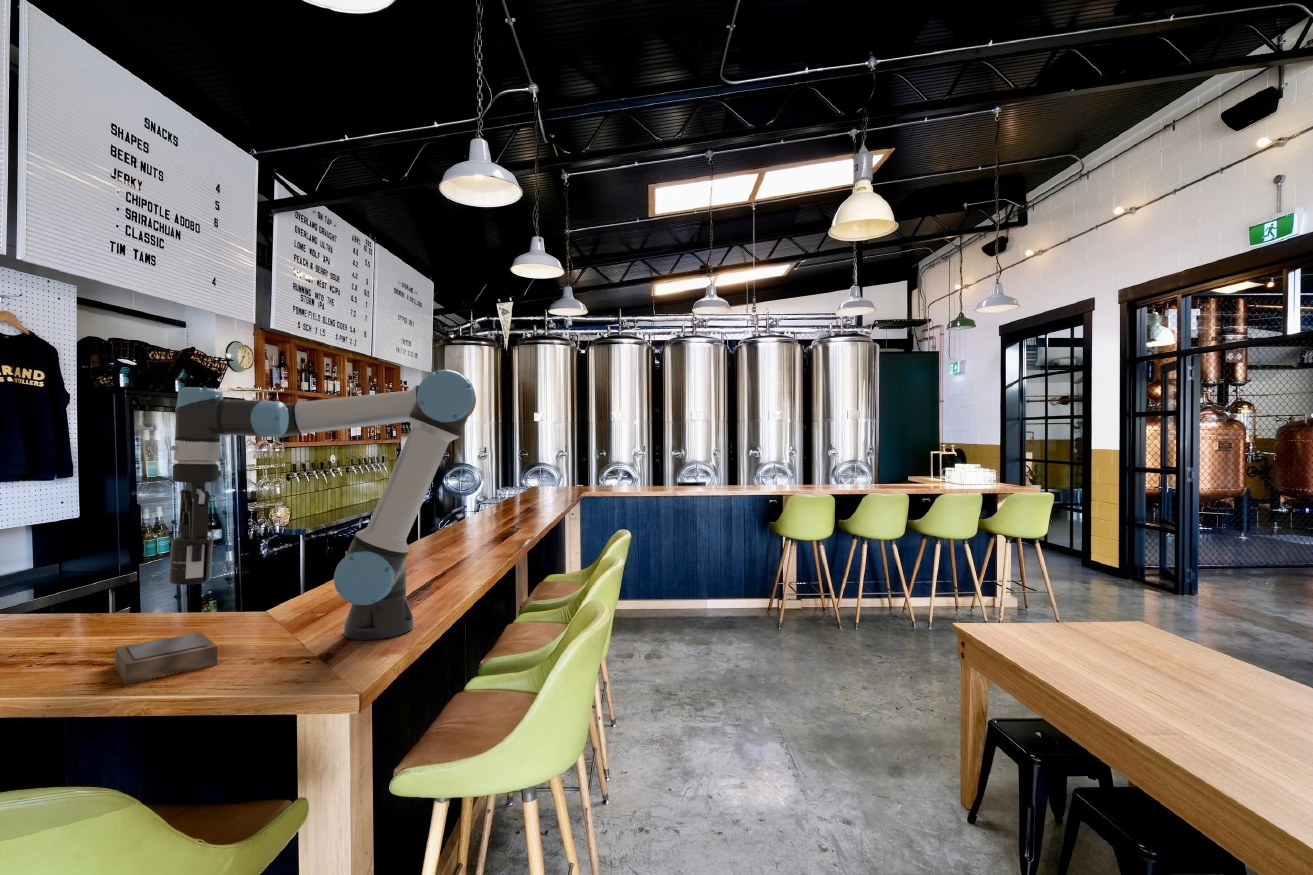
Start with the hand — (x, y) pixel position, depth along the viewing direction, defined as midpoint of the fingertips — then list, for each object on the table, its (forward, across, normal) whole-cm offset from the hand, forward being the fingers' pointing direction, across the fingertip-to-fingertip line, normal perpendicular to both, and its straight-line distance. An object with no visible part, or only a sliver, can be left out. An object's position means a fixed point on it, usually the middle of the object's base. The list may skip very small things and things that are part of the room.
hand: (190, 574), depth 123 cm
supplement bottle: (+2, 0, 0) cm, 2 cm away
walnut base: (+18, 0, -3) cm, 18 cm away
